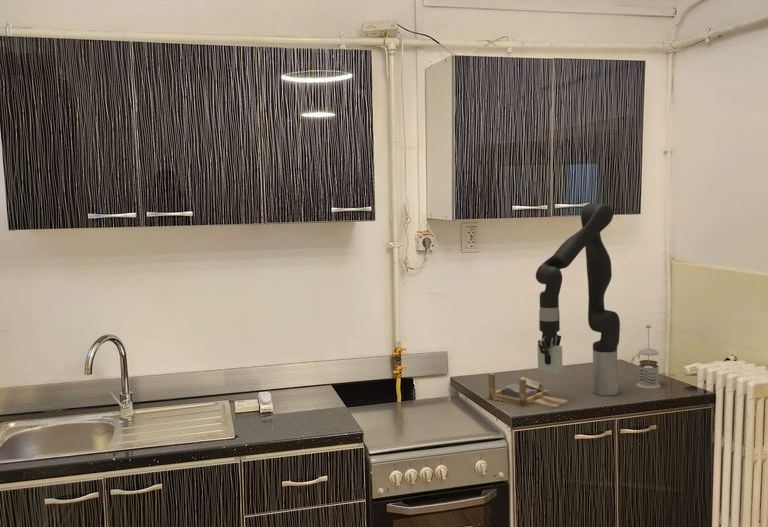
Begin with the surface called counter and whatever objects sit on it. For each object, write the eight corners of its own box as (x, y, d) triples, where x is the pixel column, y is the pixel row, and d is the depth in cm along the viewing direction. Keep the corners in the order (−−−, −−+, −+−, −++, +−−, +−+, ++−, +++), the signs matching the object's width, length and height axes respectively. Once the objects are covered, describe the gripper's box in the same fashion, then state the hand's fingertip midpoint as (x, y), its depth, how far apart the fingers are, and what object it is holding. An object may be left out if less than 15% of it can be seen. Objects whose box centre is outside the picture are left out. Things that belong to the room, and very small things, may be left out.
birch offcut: (523, 385, 286) (525, 380, 287) (541, 392, 282) (543, 386, 282) (519, 382, 281) (521, 376, 282) (537, 388, 277) (540, 383, 278)
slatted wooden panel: (545, 397, 275) (545, 396, 275) (568, 401, 268) (568, 400, 268) (532, 402, 268) (532, 401, 268) (556, 407, 261) (556, 406, 261)
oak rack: (514, 388, 289) (513, 364, 288) (548, 395, 278) (548, 370, 277) (488, 398, 276) (488, 374, 275) (523, 406, 265) (523, 380, 264)
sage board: (541, 368, 271) (541, 343, 270) (562, 372, 265) (562, 346, 264) (537, 370, 269) (537, 344, 268) (558, 373, 263) (558, 347, 262)
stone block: (519, 395, 286) (501, 394, 281) (520, 383, 286) (503, 382, 281) (540, 402, 277) (522, 402, 271) (542, 390, 277) (524, 390, 271)
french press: (657, 389, 279) (657, 328, 277) (628, 385, 286) (627, 325, 284) (664, 383, 287) (664, 323, 285) (635, 380, 294) (635, 321, 292)
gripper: (548, 322, 257) (549, 368, 259) (567, 316, 267) (568, 361, 269) (530, 320, 263) (531, 365, 264) (550, 315, 273) (550, 358, 274)
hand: (550, 363), depth 267 cm, fingers closed on sage board, 2 cm apart
